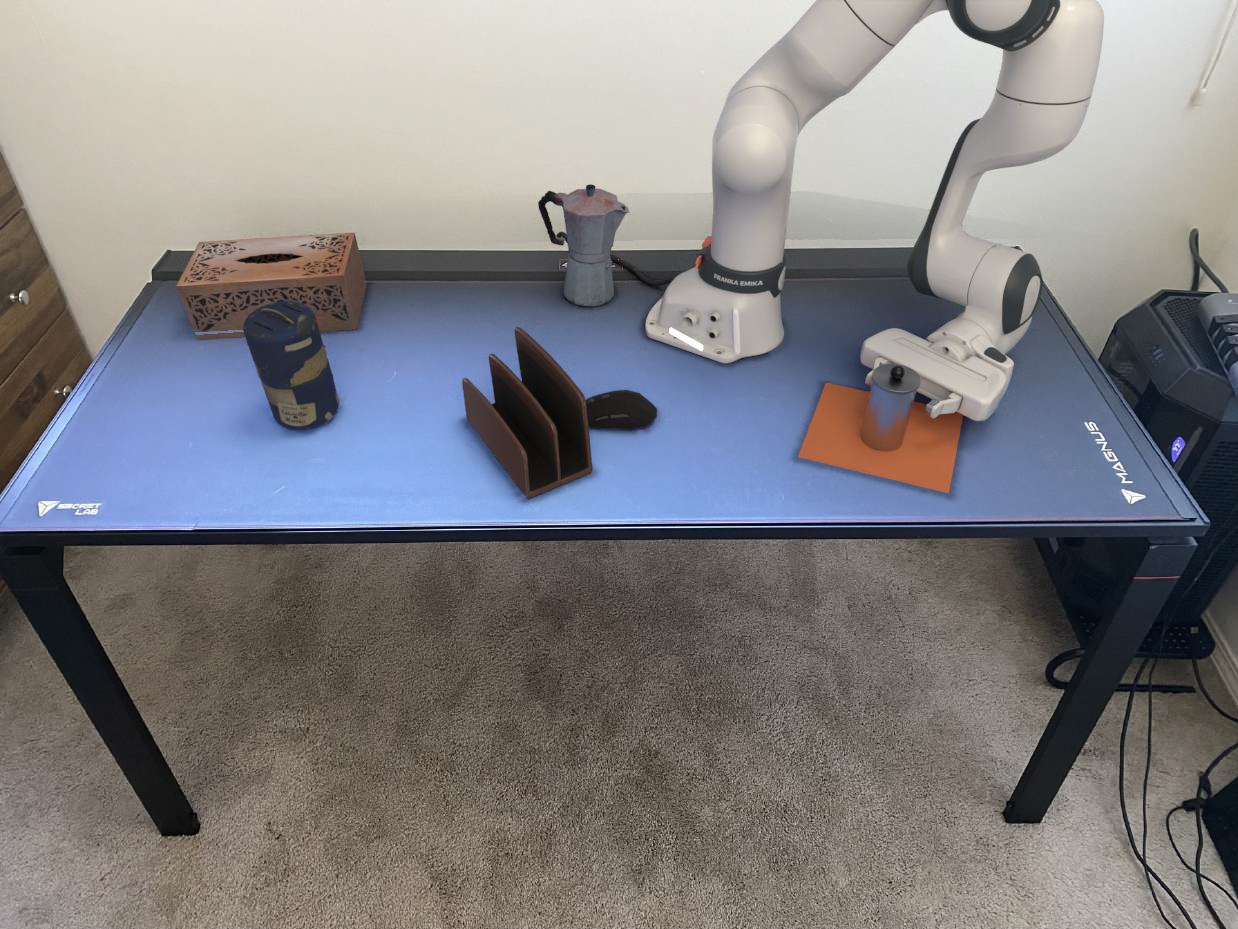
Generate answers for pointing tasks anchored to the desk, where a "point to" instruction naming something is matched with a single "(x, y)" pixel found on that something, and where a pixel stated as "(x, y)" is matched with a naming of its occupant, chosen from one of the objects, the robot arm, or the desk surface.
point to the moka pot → (587, 241)
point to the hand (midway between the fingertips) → (899, 396)
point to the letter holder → (533, 419)
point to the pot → (889, 406)
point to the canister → (292, 364)
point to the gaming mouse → (620, 410)
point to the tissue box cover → (273, 281)
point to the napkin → (914, 462)
